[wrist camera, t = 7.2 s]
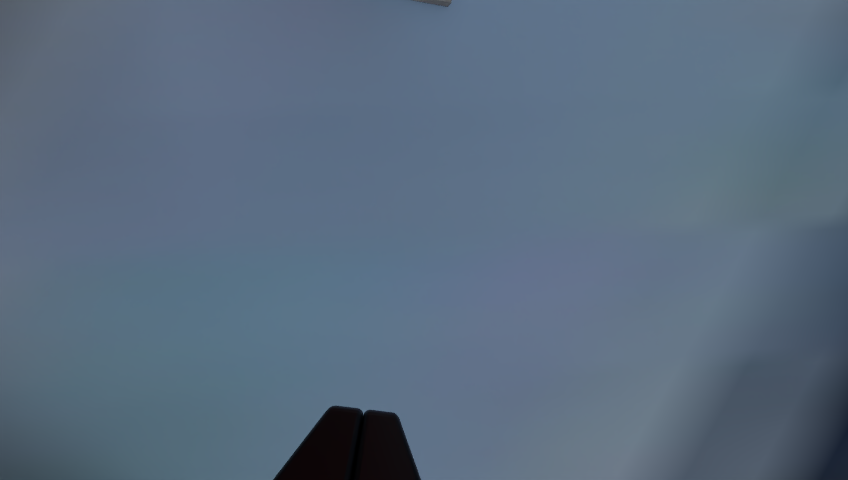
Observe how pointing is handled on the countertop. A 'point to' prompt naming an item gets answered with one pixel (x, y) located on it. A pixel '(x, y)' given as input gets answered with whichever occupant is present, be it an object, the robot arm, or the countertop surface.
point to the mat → (437, 2)
